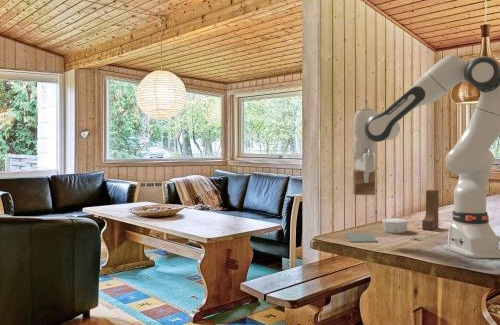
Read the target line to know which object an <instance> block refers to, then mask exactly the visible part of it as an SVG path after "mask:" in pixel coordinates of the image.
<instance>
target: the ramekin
mask: <svg viewBox="0 0 500 325" xmlns="http://www.w3.org/2000/svg"><path fill="white" fill-rule="evenodd" d="M381 222H382V225H383V230H384V232H386V233H389V234H404V233H406V232H407V227H408V223H409V221H408V219H405V218H399V217H398V218H397V217H394V218H392V217H388V218H383V219H382V220H381Z"/></svg>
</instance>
